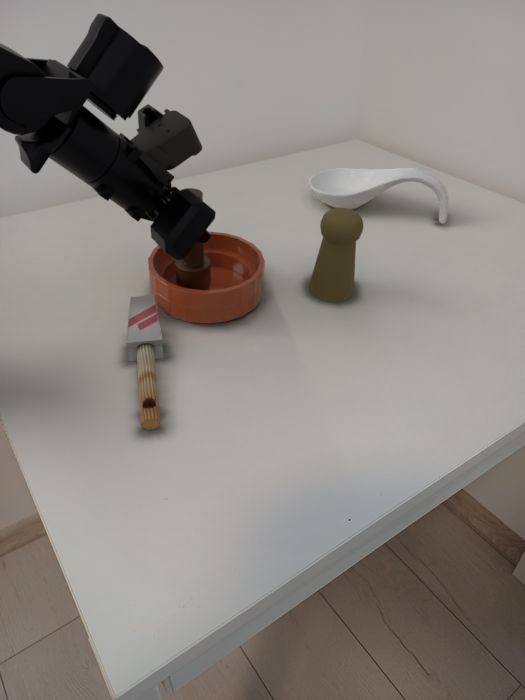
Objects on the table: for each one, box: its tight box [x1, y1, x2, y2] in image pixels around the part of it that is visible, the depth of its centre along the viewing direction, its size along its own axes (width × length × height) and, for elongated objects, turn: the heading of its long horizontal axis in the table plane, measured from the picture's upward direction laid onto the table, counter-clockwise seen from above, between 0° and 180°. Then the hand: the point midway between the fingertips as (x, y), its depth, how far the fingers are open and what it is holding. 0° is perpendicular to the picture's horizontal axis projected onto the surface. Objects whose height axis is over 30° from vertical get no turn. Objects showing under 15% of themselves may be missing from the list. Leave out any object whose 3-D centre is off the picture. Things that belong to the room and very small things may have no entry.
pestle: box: [175, 187, 211, 290], centre depth 62 cm, size 4×4×12 cm
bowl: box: [147, 230, 266, 324], centre depth 65 cm, size 14×14×5 cm
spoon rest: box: [307, 167, 449, 225], centre depth 86 cm, size 24×12×7 cm, turn 74°
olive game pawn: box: [308, 208, 364, 303], centre depth 65 cm, size 6×6×11 cm
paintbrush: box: [126, 294, 165, 431], centre depth 56 cm, size 4×3×20 cm
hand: (201, 233), depth 63 cm, fingers closed on pestle, 3 cm apart
